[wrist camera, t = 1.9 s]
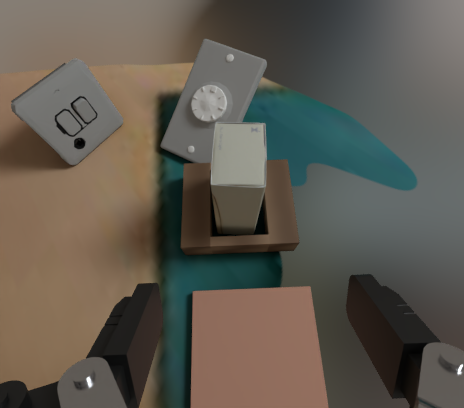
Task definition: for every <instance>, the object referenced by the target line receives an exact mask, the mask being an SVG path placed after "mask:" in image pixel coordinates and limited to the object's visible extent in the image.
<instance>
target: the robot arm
mask: <svg viewBox="0 0 464 408" xmlns="http://www.w3.org/2000/svg"><path fill="white" fill-rule="evenodd" d="M346 311H347V315H348V319H349V321H350V323H351V325H352V327H353V328H354V330H355V332H356V334H357V336H358V338H359V339H360V341H361V343H362V345H363V347H364V348H365V350H366V352H367V354H368V356H369V357H370V359H371V361H372V363H373V365H374V366H375V368H376V370H377V372H378V374H379V375H380V377H381V379H382V381H383V383H384V384H385V386H386V388H387V390H388V392H389V394H390V395H391V397H392V398H406V399H407V401H408V403H409V405H410V406H409V408H464V352H463V351H462V350H460V349H458V348H456V347H454V346H451V345H448V344H444V343H441V342H440V340H439V339H438V338H437V337H436V336H435V335H434V334H433V333H432V332H431V331H430V329H429V328H428V327H427V326H426V325H425V324H424V322H423V321H421V319H420V318H419V317H418V316H417V315H416V314H414V311H413V310H412V309H411V308H410V307H409V306H407V303H406V302H405V301H404V300H403V299H402V298H401V297H400V296H399V294H397V293H396V292H394V291H393V290H391V289H389V288H388V287H387V286H381V285H380V284H379V283H378V282H377V280H376V279H375V278H374V277H373V276H372V275H371V274H363V275H351V276H350V279H349V286H348V296H347V304H346ZM162 324H163V311H162V305H161V299H160V292H159V286H158V284H157V283H143V284H138V285H137V287H136V289H135V291H134V293H133V295H132V297H124V298H123V299H122V300H121V301H120V302H119V303H117V304H116V305H115V307H114V308H113V310H112V312H111V314H110V316H109V318H108V319H107V321H106V323H105V326H104V327H103V328H102V330H101V332H100V334H99V336H98V337H97V339H96V341H95V343H94V345H93V346H92V348H91V350H90V352H89V354H88V355H87V357H86V359H84V360H81V361H79V362H77V363H76V364H74V365H73V366H71V367H70V368H69V369H68V370H67V371H66V372H65V373H64V374H63V376H62V377H61V379H60V380H59V381H58V382H55V383H52V384H49V385H46V386H43V387H39V388H36V389H33V390H30V391H28V390H27V387H26V385H25V384H24V383H23V382H21V381H8V382H4V383H2V384H0V408H139V405H140V401H141V398H142V394H143V391H144V388H145V384H146V381H147V377H148V374H149V370H150V367H151V364H152V360H153V357H154V353H155V350H156V347H157V343H158V340H159V336H160V333H161V329H162Z"/></svg>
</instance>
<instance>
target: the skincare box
mask: <svg viewBox="0 0 464 408" xmlns="http://www.w3.org/2000/svg"><path fill="white" fill-rule="evenodd" d="M265 126H266V125H265V123H243V122H216V124H215V130H214V138H213V148H212V162H211V191H212V198H213V205H214V212H215V220H216V226H217V233H218V234H234V235H254V232H255V228H256V224H257V220H258V216H259V212H260V208H261V204H262V200H263V196H264V192H265V188H266V128H265Z"/></svg>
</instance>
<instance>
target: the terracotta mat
mask: <svg viewBox="0 0 464 408" xmlns="http://www.w3.org/2000/svg"><path fill="white" fill-rule="evenodd" d="M191 408H328V401H327V395H326V388H325V381H324V374H323V368H322V361H321V354H320V348H319V341H318V335H317V328H316V321H315V315H314V308H313V301H312V295H311V288H310V286H307V287H283V288H259V289H235V290H211V291H193V315H192V368H191Z"/></svg>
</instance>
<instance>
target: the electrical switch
mask: <svg viewBox="0 0 464 408" xmlns="http://www.w3.org/2000/svg"><path fill="white" fill-rule="evenodd" d="M11 102H12V104H11V108H12V111H13V112H14V113H15V114H16V115H17V116H18V117H19V118H20V119H21V120H22V121H23V120H24V121H25V122H26V123H27V124H28V125H29V126H30V127H31V128H32V129H33V130H34V131H35V132H36V133H37V134H38V135H40V136H41V137H42V138H43V139H44V140H45V141H46V142H47V143H48V144H49V145H50V146H51V147H52V148H53V149H54V150H55V151H56V152H57V153H58V154H59V155H60V157H61V158H62V159H63V160H64V161H65V162H66V163H68V164H70V165H76V164H78V163H79V162H80V161H81V160H83V159H84V158H85V157H86V156H87V155H88V154H89V153H90V152H92V151H93V150H94V149H95V148H96V147H97V146H98V145H100V144H101V143H102V142H103V141H104V140H105V139H106V138H107V137H109V136H110V135H111V134H112V133H113V132H114V131H115V130H116V129H118V128H119V127H120V126H121V125H122V124H123V118H122V116H121V115H120V113H119V112H118V110H117V109H116V108H115V106H114V105H113V103H112V102H111V100H110V99H109V97H108V96H107V95H106V93H105V92H104V90H103V89H102V87H101V86H100V84H99V83H98V81H97V80H96V79H95V77H94V76H93V74H92V73H91V71H90V70H89V68H88V67H87V66H86V64H85V63H84V62H83V61H81V60H78V59H76V58H75V59H73V60H71V61H70V62H68V63H67V64H65V63H64V64H63V65H61V66H60V67H59V68H57V69H56V70H54V71H53V72H51V73H50V74H49V75H47V76H46V77H44V78H43V79H42V80H40V81H39V82H37V83H36V84H35V85H33V86H32V87H30V88H29V89H28V90H26V91H25V92H23V93H22V94H21V95H19V96H18V97H16V98H15V99H14V100H12V101H11Z"/></svg>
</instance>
